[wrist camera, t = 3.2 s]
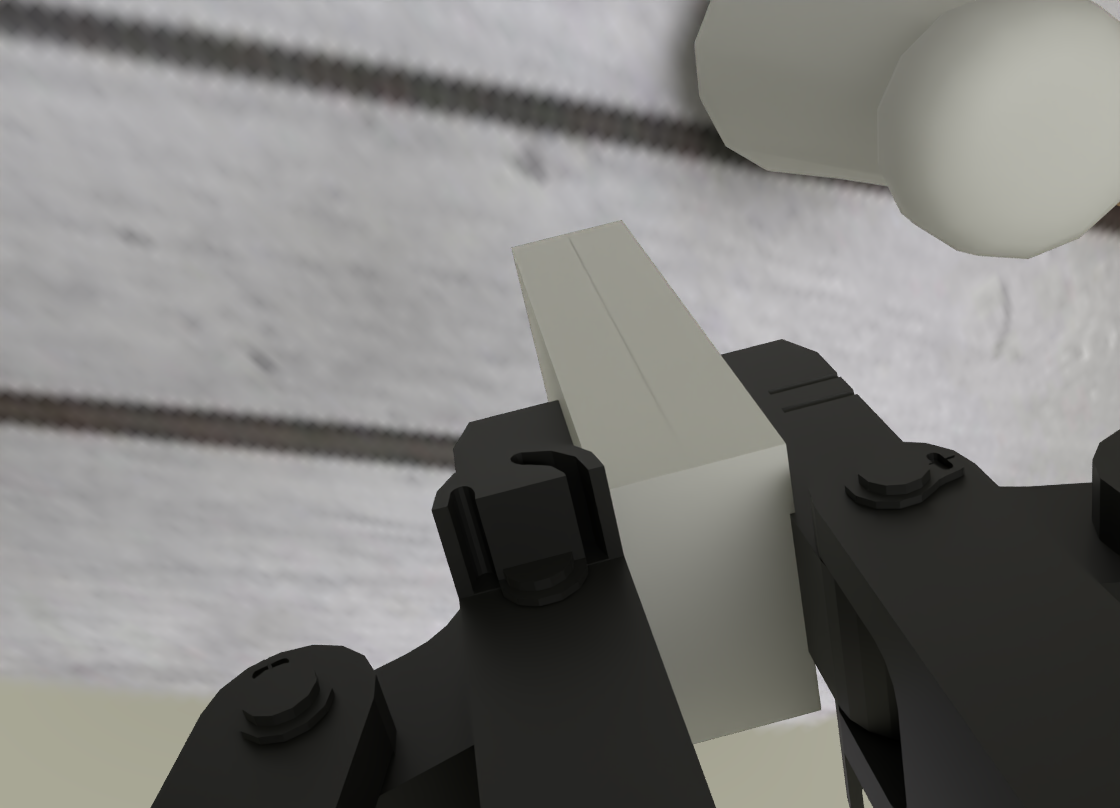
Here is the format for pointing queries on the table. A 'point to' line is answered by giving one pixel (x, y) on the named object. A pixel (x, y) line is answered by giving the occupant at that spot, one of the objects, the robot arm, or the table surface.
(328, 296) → the table surface
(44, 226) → the table surface
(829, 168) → the salt shaker
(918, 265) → the table surface
